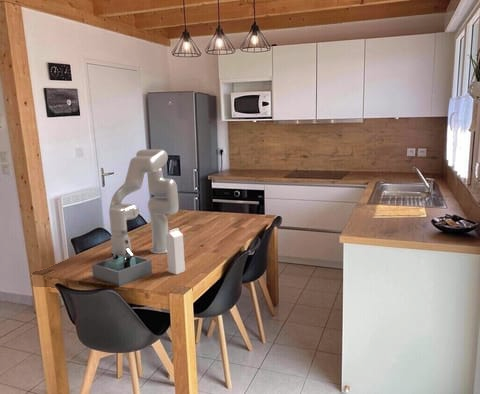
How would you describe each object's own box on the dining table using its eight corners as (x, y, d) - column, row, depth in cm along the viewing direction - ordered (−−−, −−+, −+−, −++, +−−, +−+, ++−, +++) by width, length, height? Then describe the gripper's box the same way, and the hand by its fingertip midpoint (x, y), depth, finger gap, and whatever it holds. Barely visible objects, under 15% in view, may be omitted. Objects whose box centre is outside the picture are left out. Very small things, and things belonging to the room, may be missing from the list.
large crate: (126, 265, 221) (125, 253, 219) (152, 273, 209) (151, 259, 208) (93, 278, 205) (91, 264, 204) (119, 286, 193) (118, 272, 192)
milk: (185, 271, 210) (183, 228, 206) (176, 274, 206) (173, 231, 202) (176, 268, 214) (174, 226, 210) (167, 272, 210) (165, 229, 206)
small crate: (126, 264, 213) (126, 255, 212) (136, 267, 209) (135, 257, 208) (108, 271, 204) (107, 261, 203) (117, 274, 200) (116, 264, 199)
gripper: (137, 233, 201) (140, 268, 204) (114, 228, 211) (117, 262, 214) (124, 237, 195) (127, 273, 198) (101, 232, 205) (105, 266, 208)
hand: (122, 267), depth 206 cm, fingers closed on small crate, 6 cm apart
